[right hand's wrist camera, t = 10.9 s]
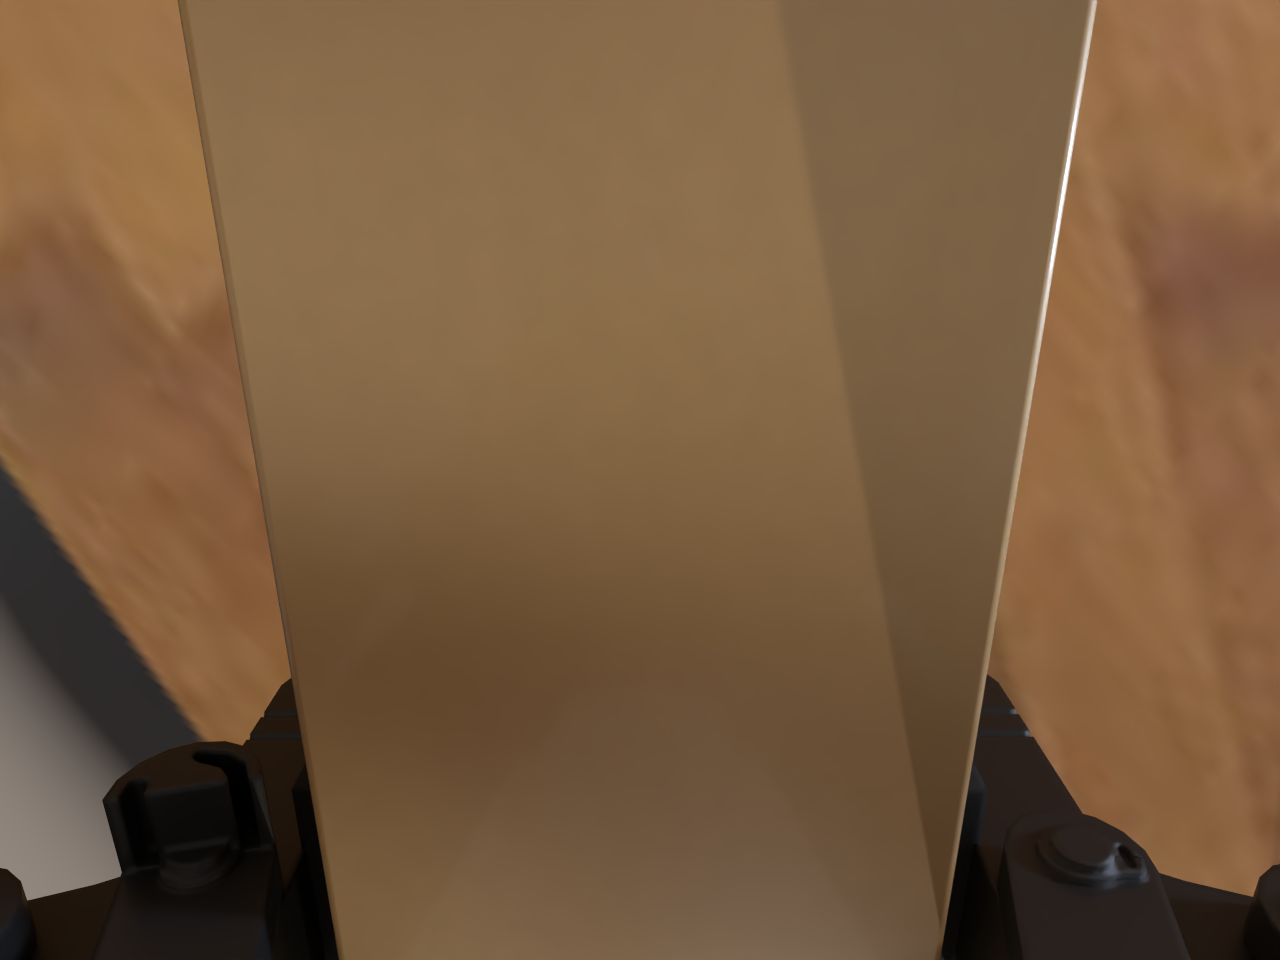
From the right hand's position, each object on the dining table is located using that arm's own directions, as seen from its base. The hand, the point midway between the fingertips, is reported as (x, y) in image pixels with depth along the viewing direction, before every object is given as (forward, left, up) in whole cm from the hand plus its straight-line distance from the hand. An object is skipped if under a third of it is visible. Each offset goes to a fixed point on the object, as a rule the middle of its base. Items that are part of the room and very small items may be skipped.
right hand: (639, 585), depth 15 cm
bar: (-3, -26, -1) cm, 26 cm away
